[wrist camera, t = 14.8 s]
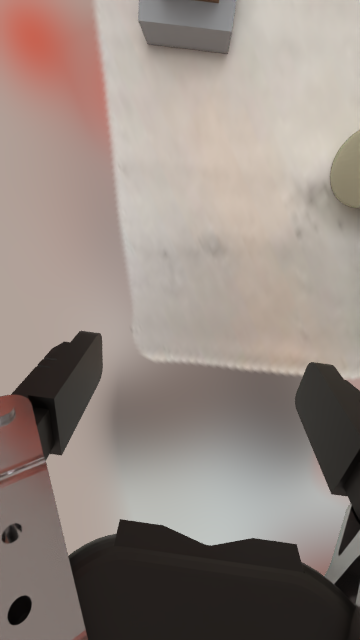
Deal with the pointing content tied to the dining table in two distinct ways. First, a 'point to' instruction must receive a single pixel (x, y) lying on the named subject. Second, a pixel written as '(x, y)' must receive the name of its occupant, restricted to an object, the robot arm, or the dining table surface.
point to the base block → (188, 23)
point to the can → (347, 172)
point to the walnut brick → (213, 0)
